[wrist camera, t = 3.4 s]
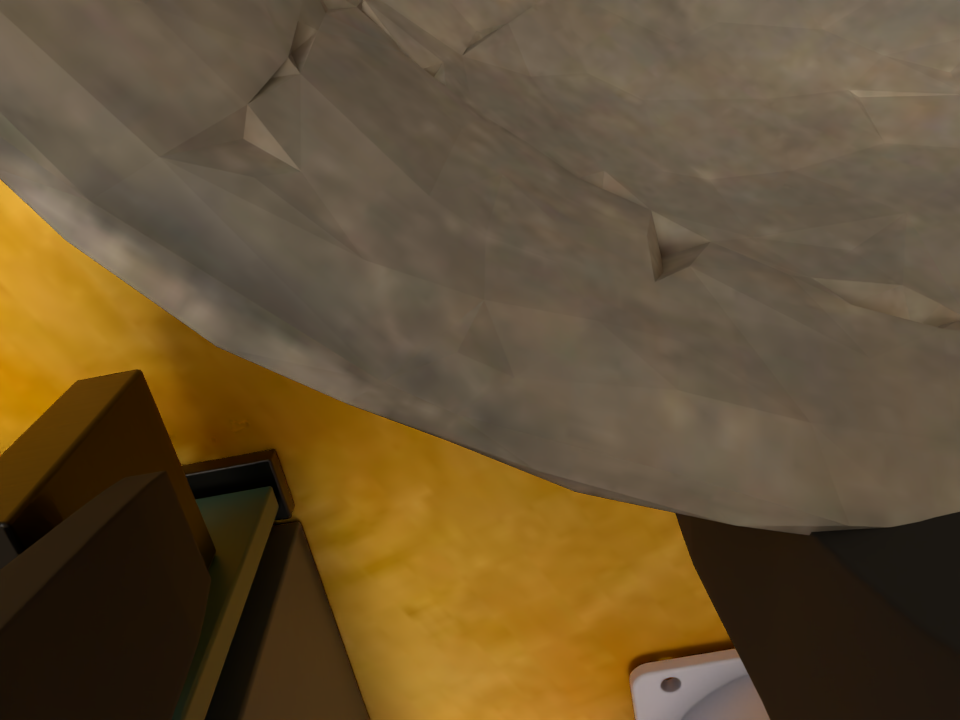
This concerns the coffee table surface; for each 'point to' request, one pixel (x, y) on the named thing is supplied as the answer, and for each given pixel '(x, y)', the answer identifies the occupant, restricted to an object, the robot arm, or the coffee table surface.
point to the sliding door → (106, 460)
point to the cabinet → (279, 616)
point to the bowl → (542, 225)
